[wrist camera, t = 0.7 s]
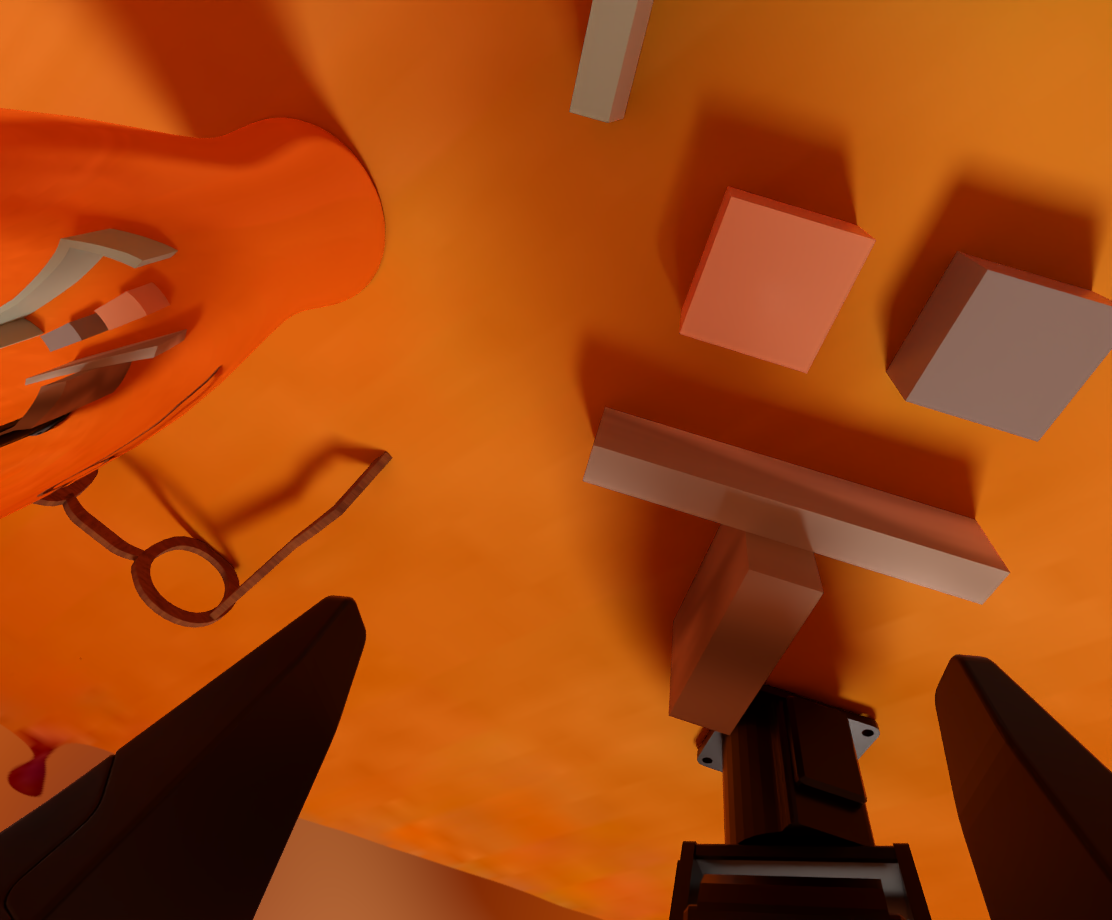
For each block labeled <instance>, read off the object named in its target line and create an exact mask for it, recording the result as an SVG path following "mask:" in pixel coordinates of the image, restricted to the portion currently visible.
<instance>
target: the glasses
mask: <svg viewBox="0 0 1112 920" xmlns="http://www.w3.org/2000/svg"><path fill="white" fill-rule="evenodd" d="M391 459H392V457H391V456H390V455H389V454H388V453H386V452H385V453H384V454H382V455H381V456H380V457H378V458H377V459H376V460H374V462H373V463H372V464H371V465H370V466H369V467H368V468H367V469H366V470H365V472H364V473H363V474H362V475H361V476H360V477H359V478H358V479H357V481H356V482H355V483H354V484H353V485H352V486H351V487H350V488H349V489H348V491H347V492H346V493H345V494H344V495H343V496H342V497H341V498H340V499H339V501H338V502H337V503H336V504H335V505H334V506H333V507H332V508H331V509H329V510H328V511H327V512H326V513H324V514H323V515H322V516H321V517H319V518H318V519H317V520H316V521H314V522H313V523H312V524H311V525H309V526H308V527H307V528H306V529H304V530H303V531H302V532H300V533H299V534H298V535H296V536H295V537H294V538H293V539H292V540H291V541H290V542H288V543H287V544H286V545H285V546H284V547H283V548H282V549H281V550H280V551H278V552H277V553H276V554H275V555H274V556H273V557H272V558H271V559H270V560H268V561H267V562H266V563H265V564H264V565H263V566H262V567H261V568H260V569H258V570H257V571H256V572H255V573H254V574H253V575H252V576H251V577H250V578H248V579H247V580H246V581H245V582H244V583H243V584H242V585H241V586H240V587H239V580H238V577H237V574H236V572H235V570H234V568H233V567H232V565H231V564H230V563H229V562H227V561H226V560H225V559H224V558H223V557H221V556H220V555H219V554H218V553H216V552H215V551H214V550H213V549H212V548H210V547H209V546H208V545H207V544H205V543H204V542H202V541H199V540H197V539H194V538H190V537H185V536H180V537H172V538H168V539H165V540H163V541H160V542H158V543H156V544H154V545H152V546H151V547H149V548H148V549H146V550H145V551H144V550H141V549H139V548H136V547H134V546H132V545H130V544H128V543H127V542H125V541H124V540H122V539H121V538H120V537H119V536H117V535H116V534H115V533H114V532H112V531H111V530H110V529H109V528H107V527H106V526H105V525H104V524H102V523H101V522H100V521H98V520H97V519H96V518H95V517H93V516H92V515H91V514H89V513H88V512H87V511H86V510H85V509H84V508H83V507H82V505H81V504H80V503H79V501H78V500H77V498H76V497H77V496H78V495H80V494H81V493H82V492H83V491H84V490H85V489H86V488H87V487H88V486H89V485H90V484H91V483H92V481H93V480H94V478H95V477H96V475H97V474H98V469H97V470H95V471H93V472H91V473H90V474H88V475H86V476H84V477H82V478H80V479H78V480H76V481H75V482H73V483H72V484H70V485H68V486H66V487H63V488H61V489H59V490H57V491H55V492H53V493H51V494H49V495H47V496H45V497H43V498H42V499H40V500H38V501H36V502H34V503H33V504H38V505H44V506H57V505H61V504H62V505H63V507H64V510H65V512H66V514H67V515H68V517H69V518H70V520H71V521H72V522H73V523H74V524H76V525H77V526H78V527H79V528H81V529H82V530H83V531H85V532H86V533H87V534H88V535H90V536H91V537H92V538H94V539H95V540H96V541H97V542H99V543H100V544H101V545H103V546H104V547H105V548H106V549H108V550H109V551H111V552H112V553H114V554H116V555H118V556H120V557H123V558H126V559H130V560H134V563H133V565H132V566H131V574H132V578H133V582H134V585H135V588H136V590H137V592H138V594H139V596H140V597H141V599H142V600H143V601H144V602H145V603H146V605H147V606H148V607H150V608H151V609H152V610H153V611H154V612H155V613H157V614H158V615H160V616H161V617H163V618H164V619H166V620H168V621H171V622H173V623H175V624H178V625H182V626H186V627H203V626H207V625H210V624H212V623H214V622H216V621H218V620H219V619H221V618H222V617H223V616H224V615H225V614H226V613H227V612H229V611H230V610H231V608H232V607H233V606H234V604H235V603H236V601H237V600H238V599H239V598H241V597H242V596H243V595H244V594H245V593H246V592H247V591H248V590H250V589H251V588H252V587H253V586H254V585H255V584H256V583H257V582H259V581H260V580H261V579H262V578H263V577H264V576H265V575H266V574H268V573H269V572H270V571H271V570H272V569H273V568H274V567H275V566H276V565H278V564H279V563H280V562H281V561H282V560H283V559H284V558H285V557H287V556H288V555H289V554H290V553H291V552H292V551H293V550H294V549H296V548H297V547H298V546H300V545H301V544H303V543H304V542H305V541H307V540H308V539H310V538H311V537H313V536H314V535H315V534H317V533H318V532H319V531H321V530H322V529H323V528H325V527H326V526H327V525H329V524H330V523H331V522H333V521H334V520H335V519H337V518H338V517H339V516H341V515H342V514H343V513H344V512H345V511H346V509H347V508H348V507H349V506H350V505H351V504H352V503H353V502H354V500H355V499H356V498H357V497H358V496H359V495H360V494H361V493H362V491H363V490H364V489H365V488H366V487H367V486H368V485H369V484H370V482H371V481H372V480H373V479H374V478H375V477H376V476H377V475H378V473H379V472H380V471H381V470H382V469H383V468H384V467H385V466H386V464H387V463H388V462H389V461H390V460H391ZM172 550H186V551H190V552H193V553H196V554H198V555H200V556H202V557H203V558H205V559H206V560H208V561H209V562H210V563H211V564H212V565H213V566H214V567H215V568H216V569H217V570H218V571H219V573H220V574H221V576H222V578H223V581H224V584H225V593H224V597H223V599H222V601H221V603H220V604H219V605H218V606H217V607H216V608H214V609H212V610H210V611H207V612H201V613H195V612H188V611H185V610H182V609H180V608H178V607H176V606H174V605H172V604H171V603H169V602H168V601H167V600H166V599H164V598H163V597H162V596H161V595H160V594H159V592H158V591H157V590H156V588H155V587H154V585H153V583H152V580H151V576H150V567H151V563H152V562H153V560H154V559H155V558H156V557H158V556H159V555H161V554H163V553H166V552H168V551H172Z"/></svg>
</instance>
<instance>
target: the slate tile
mask: <svg viewBox="0 0 1112 920" xmlns="http://www.w3.org/2000/svg"><path fill="white" fill-rule="evenodd" d="M1111 349H1112V301H1111V300H1109V299H1107V298H1105V297H1103V296H1101V295H1099V294H1097V293H1095V292H1093V291H1090V290H1087V289H1084V288H1080V287H1077V286H1073V285H1070V284H1067V283H1063V282H1060V281H1056V280H1053V279H1050V278H1046V277H1043V276H1039V275H1036V274H1033V273H1029V272H1026V271H1023V270H1019V269H1016V268H1012V267H1009V266H1006V265H1002V264H999V263H995V262H992V261H989V260H985V259H982V258H978V257H975V256H972V255H968V254H965V253H961V252H958V251H957V253H956V254H955V256H954V258H953V259H952V261H951V263H950V264H949V266H948V268H947V269H946V271H945V273H944V275H943V276H942V278H941V280H940V281H939V283H938V285H937V286H936V288H935V290H934V291H933V293H932V295H931V297H930V298H929V300H928V302H927V303H926V305H925V307H924V308H923V310H922V312H921V313H920V315H919V317H918V319H917V320H916V322H915V324H914V325H913V327H912V329H911V330H910V332H909V334H908V335H907V337H906V339H905V340H904V342H903V344H902V346H901V347H900V349H899V351H898V352H897V354H896V356H895V357H894V359H893V361H892V362H891V364H890V366H889V368H888V369H887V371H886V373H887V374H888V376H889V377H890V379H891V380H892V382H893V383H894V385H895V386H896V388H897V389H898V391H899V392H900V394H901V395H902V397H903V398H904V400H905V401H907V402H911V403H914V404H917V405H920V406H924V407H927V408H930V409H933V410H937V411H940V412H943V413H946V414H950V415H953V416H956V417H959V418H963V419H966V420H969V421H972V422H976V423H979V424H982V425H985V426H989V427H992V428H995V429H998V430H1002V431H1005V432H1008V433H1011V434H1015V435H1018V436H1021V437H1024V438H1028V439H1031V440H1034V441H1037V442H1038V441H1039V440H1040V438H1041V437H1042V436H1043V435H1044V433H1045V432H1046V431H1047V430H1048V428H1049V427H1050V426H1051V425H1052V423H1053V422H1054V421H1055V420H1056V418H1057V417H1058V416H1059V415H1060V413H1061V412H1062V411H1063V409H1064V408H1065V407H1066V406H1067V404H1068V403H1069V402H1070V401H1071V399H1072V398H1073V397H1074V396H1075V394H1076V393H1077V392H1078V391H1079V389H1080V388H1081V387H1082V386H1083V384H1084V383H1085V382H1086V381H1087V379H1088V378H1089V377H1090V376H1091V374H1092V373H1093V372H1094V371H1095V369H1096V368H1097V367H1098V366H1099V364H1100V363H1101V362H1102V361H1103V359H1104V358H1105V357H1106V356H1107V354H1108V353H1109V352H1110V350H1111Z"/></svg>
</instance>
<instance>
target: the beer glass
mask: <svg viewBox="0 0 1112 920" xmlns="http://www.w3.org/2000/svg"><path fill="white" fill-rule="evenodd" d="M384 246H385V222H384V215H383V210H382V207H381V203H380V200H379V197H378V194H377V191H376V189H375V187H374V185H373V183H372V181H371V179H370V177H369V175H368V173H367V172H366V170H365V168H364V167H363V166H362V164H361V163H360V161H359V160H358V159H357V158H356V156H355V155H354V154H353V153H352V152H351V151H350V150H349V149H348V148H347V147H346V146H345V145H344V144H343V143H342V142H341V141H340V140H338V139H337V138H336V137H334V136H333V135H332V134H330V133H329V132H327V131H325V130H324V129H322V128H320V127H318V126H316V125H313V124H311V123H308V122H305V121H302V120H298V119H293V118H284V117H279V118H269V119H264V120H260V121H257V122H254V123H251V124H248V125H246V126H244V127H241V128H239V129H237V130H235V131H233V132H230V133H228V134H226V135H223V136H219V137H213V138H194V137H188V136H181V135H174V134H168V133H163V132H158V131H152V130H147V129H142V128H136V127H131V126H125V125H120V124H114V123H108V122H102V121H97V120H91V119H85V118H80V117H73V116H65V115H57V114H48V113H40V112H31V111H23V110H14V109H5V108H0V519H1V518H3V517H5V516H7V515H9V514H11V513H13V512H15V511H18V510H20V509H22V508H24V507H26V506H28V505H30V504H32V503H34V502H36V501H38V500H40V499H42V498H43V497H45V496H47V495H49V494H51V493H53V492H55V491H57V490H59V489H61V488H63V487H65V486H67V485H69V484H71V483H72V482H74V481H76V480H78V479H80V478H82V477H84V476H86V475H88V474H90V473H91V472H93V471H95V470H97V469H98V468H100V467H102V466H104V465H105V464H107V463H109V462H111V461H112V460H114V459H116V458H118V457H119V456H121V455H123V454H125V453H126V452H128V451H130V450H132V449H133V448H135V447H137V446H138V445H140V444H141V443H143V442H144V441H146V440H147V439H149V438H150V437H152V436H153V435H155V434H156V433H158V432H159V431H161V430H162V429H164V428H165V427H167V426H168V425H170V424H171V423H172V422H174V421H175V420H177V419H178V418H180V417H181V416H183V415H184V414H185V413H187V412H188V411H189V410H190V409H191V408H193V407H194V406H195V405H196V404H197V403H198V402H200V401H201V400H202V399H203V398H204V397H205V396H207V395H208V394H209V393H210V392H211V391H212V390H214V389H215V388H216V387H217V386H218V385H220V384H221V383H222V382H223V381H224V380H225V379H226V378H227V377H228V376H229V375H230V374H231V373H232V372H233V371H234V370H235V369H236V368H237V367H238V366H239V365H240V364H241V363H242V362H243V361H244V360H245V359H246V358H247V357H248V356H249V355H250V354H251V353H252V352H253V351H254V350H255V349H256V348H257V347H258V346H259V345H260V344H261V343H262V342H263V341H264V340H265V339H266V338H267V337H268V336H269V335H270V334H271V333H272V332H274V331H275V330H276V329H277V328H278V327H279V326H280V325H281V324H282V323H283V322H284V321H286V320H287V319H289V318H290V317H292V316H293V315H295V314H297V313H300V312H302V311H306V310H310V309H315V308H321V307H326V306H330V305H334V304H338V303H341V302H343V301H346V300H348V299H350V298H352V297H354V296H355V295H357V294H358V293H360V292H361V291H362V290H363V289H364V288H365V287H366V286H367V285H368V284H369V283H370V281H371V280H372V279H373V277H374V275H375V274H376V272H377V270H378V268H379V266H380V263H381V260H382V256H383V252H384Z"/></svg>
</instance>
